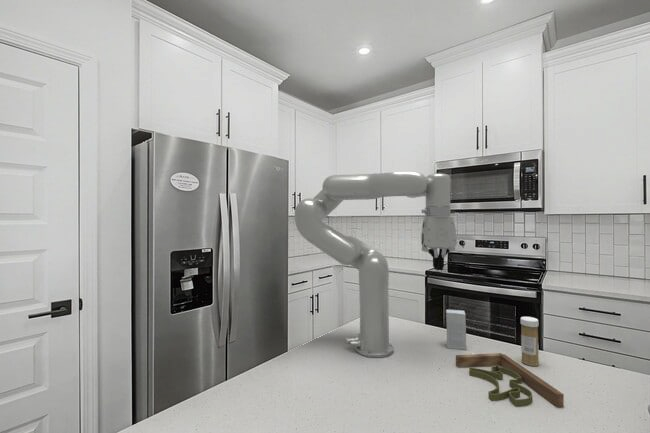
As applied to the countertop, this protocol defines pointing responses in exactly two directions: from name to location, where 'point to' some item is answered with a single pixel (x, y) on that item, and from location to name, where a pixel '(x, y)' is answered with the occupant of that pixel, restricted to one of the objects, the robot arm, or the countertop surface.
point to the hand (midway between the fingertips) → (438, 269)
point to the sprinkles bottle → (529, 341)
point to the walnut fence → (508, 363)
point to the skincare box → (456, 329)
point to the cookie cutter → (514, 384)
